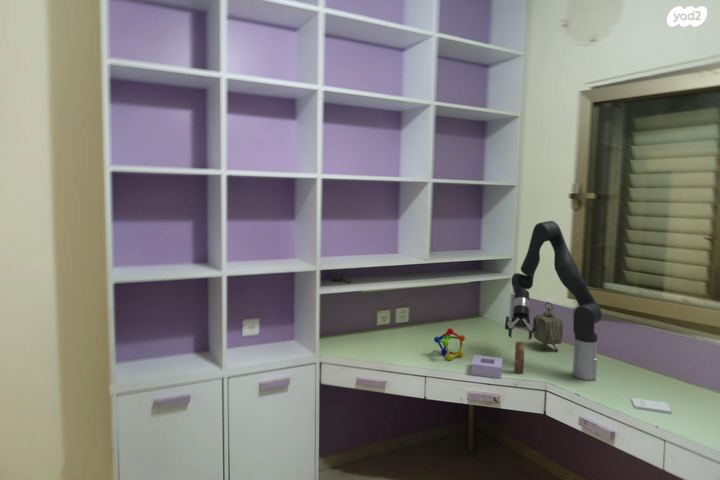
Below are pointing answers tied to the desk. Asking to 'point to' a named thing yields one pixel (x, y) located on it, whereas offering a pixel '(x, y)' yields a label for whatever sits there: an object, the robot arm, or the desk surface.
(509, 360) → the desk surface
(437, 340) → the educational toy
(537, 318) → the tabletop clock
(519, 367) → the dowel
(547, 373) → the desk surface
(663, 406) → the external hard drive
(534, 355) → the desk surface
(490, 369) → the socket
